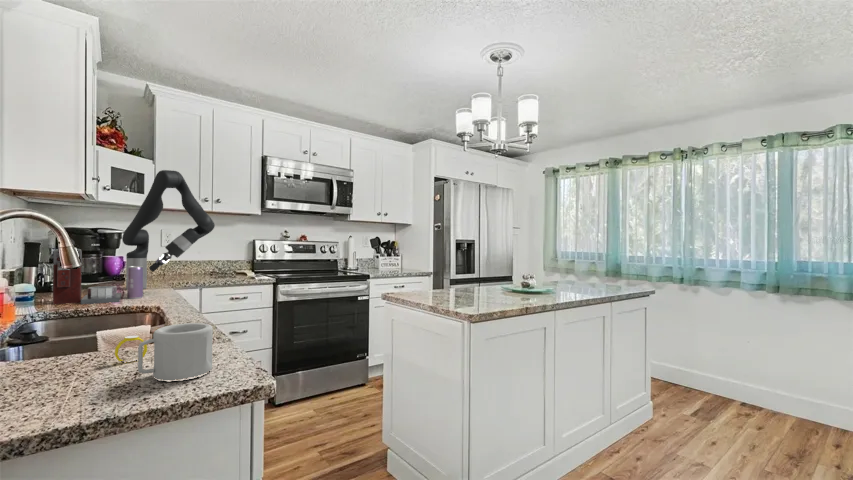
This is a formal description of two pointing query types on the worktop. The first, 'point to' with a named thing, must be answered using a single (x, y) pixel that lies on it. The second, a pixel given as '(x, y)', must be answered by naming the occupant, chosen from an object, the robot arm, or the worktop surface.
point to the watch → (129, 338)
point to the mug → (180, 351)
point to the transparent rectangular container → (101, 295)
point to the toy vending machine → (66, 282)
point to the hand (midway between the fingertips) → (150, 269)
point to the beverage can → (135, 282)
